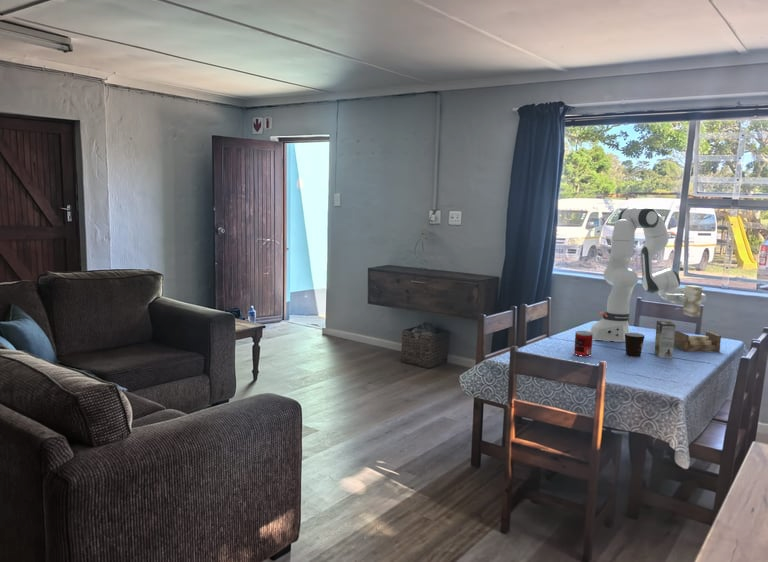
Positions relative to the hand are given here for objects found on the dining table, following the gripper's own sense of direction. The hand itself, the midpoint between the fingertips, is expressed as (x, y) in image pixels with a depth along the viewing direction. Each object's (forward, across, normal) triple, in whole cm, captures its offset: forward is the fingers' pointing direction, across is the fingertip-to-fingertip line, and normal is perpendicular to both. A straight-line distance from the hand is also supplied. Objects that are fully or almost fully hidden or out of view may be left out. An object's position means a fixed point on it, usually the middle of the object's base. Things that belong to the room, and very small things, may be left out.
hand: (692, 299), depth 293 cm
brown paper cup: (+21, -37, +24) cm, 49 cm away
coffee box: (+22, -24, +24) cm, 41 cm away
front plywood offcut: (+10, 0, +24) cm, 26 cm away
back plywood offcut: (+7, 0, +24) cm, 25 cm away
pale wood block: (0, 0, +8) cm, 8 cm away
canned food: (+23, -63, +24) cm, 71 cm away
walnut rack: (+7, 0, +24) cm, 25 cm away
